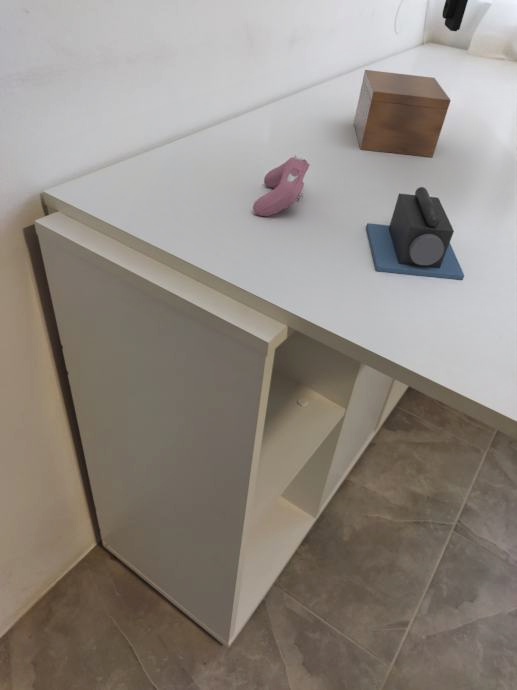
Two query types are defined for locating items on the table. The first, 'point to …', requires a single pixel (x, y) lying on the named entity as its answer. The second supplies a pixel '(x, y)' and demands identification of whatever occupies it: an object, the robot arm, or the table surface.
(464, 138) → the table surface
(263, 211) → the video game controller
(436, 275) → the felt pad
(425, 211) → the dark grey boxy piece
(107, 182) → the table surface
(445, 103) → the wooden block
